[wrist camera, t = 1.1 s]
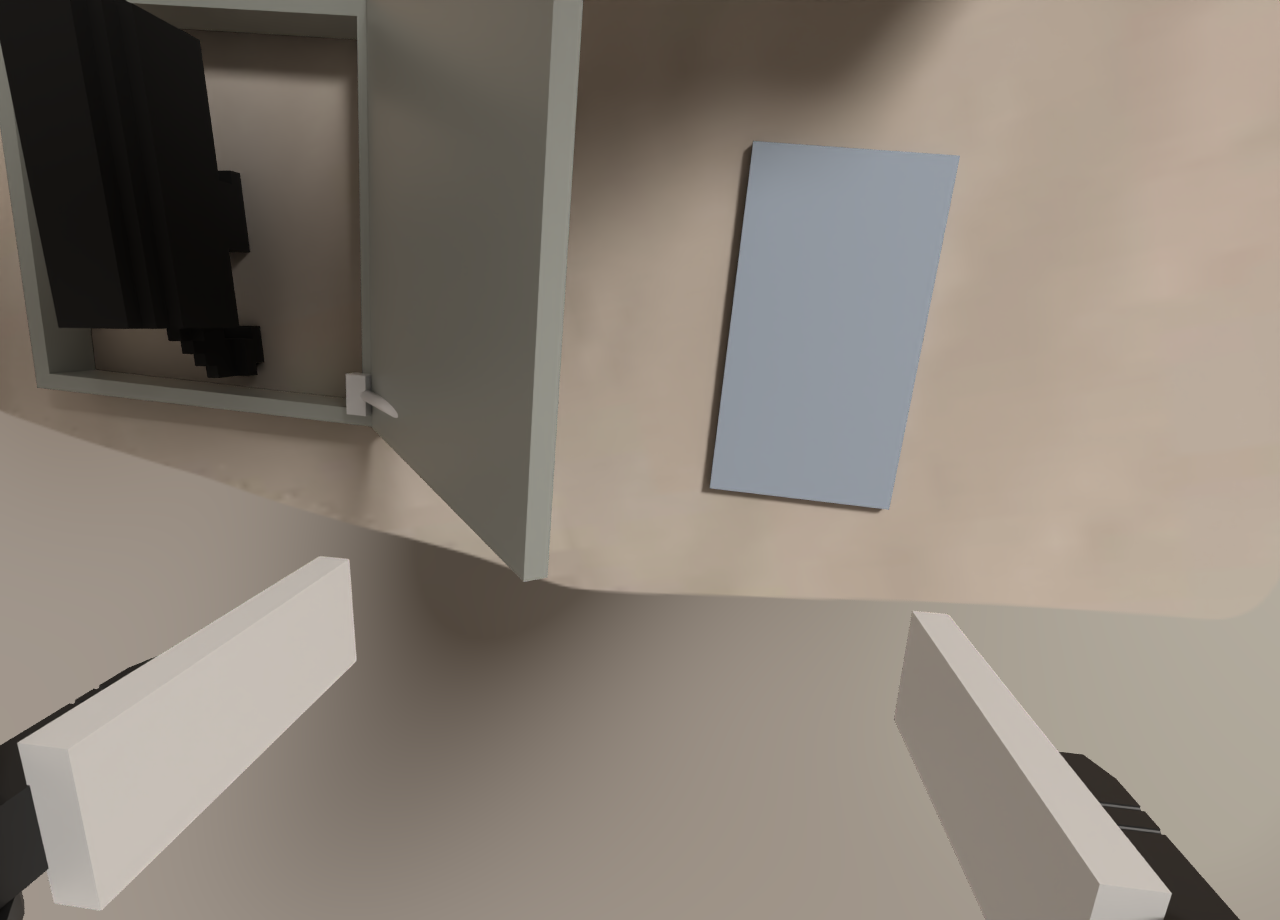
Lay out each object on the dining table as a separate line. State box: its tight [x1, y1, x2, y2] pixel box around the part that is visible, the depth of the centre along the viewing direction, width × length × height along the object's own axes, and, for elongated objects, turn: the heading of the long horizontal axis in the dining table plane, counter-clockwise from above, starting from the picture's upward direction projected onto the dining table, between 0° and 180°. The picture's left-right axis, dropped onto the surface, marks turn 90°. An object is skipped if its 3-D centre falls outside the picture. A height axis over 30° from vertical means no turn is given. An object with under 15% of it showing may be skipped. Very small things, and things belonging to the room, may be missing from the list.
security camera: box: [0, 0, 264, 378], centre depth 33 cm, size 7×18×10 cm, turn 179°
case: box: [0, 0, 583, 582], centre depth 27 cm, size 23×38×21 cm, turn 85°
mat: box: [710, 141, 960, 510], centre depth 36 cm, size 20×11×1 cm, turn 175°
